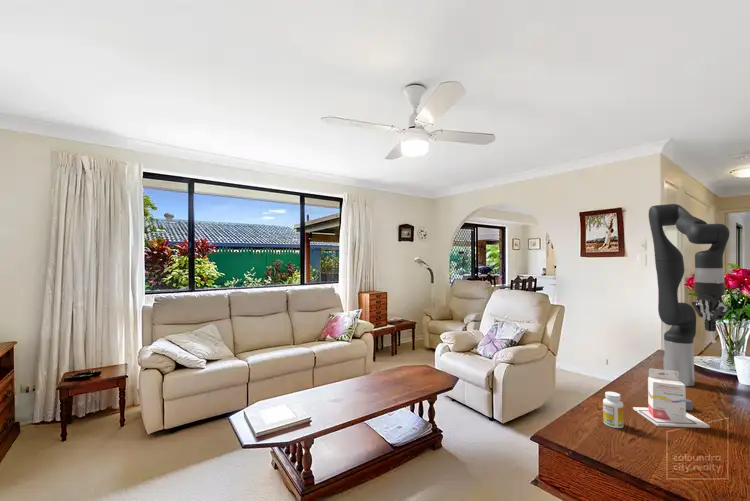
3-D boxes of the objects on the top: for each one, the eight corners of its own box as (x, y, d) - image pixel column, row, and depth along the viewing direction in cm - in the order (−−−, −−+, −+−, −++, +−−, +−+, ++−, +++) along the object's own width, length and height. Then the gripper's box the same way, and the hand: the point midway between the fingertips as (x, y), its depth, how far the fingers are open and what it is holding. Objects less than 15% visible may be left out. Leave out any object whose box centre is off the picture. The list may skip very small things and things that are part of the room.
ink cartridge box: (653, 418, 112) (652, 372, 112) (648, 411, 116) (647, 367, 117) (687, 422, 108) (685, 375, 109) (680, 415, 113) (679, 370, 113)
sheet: (633, 409, 120) (632, 406, 120) (679, 410, 119) (679, 407, 119) (657, 426, 108) (657, 423, 108) (709, 427, 107) (709, 424, 107)
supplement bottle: (620, 421, 111) (619, 391, 111) (626, 429, 106) (625, 398, 106) (601, 419, 113) (600, 389, 113) (606, 427, 108) (605, 395, 108)
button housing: (656, 401, 126) (656, 393, 126) (677, 401, 126) (676, 393, 126) (670, 409, 119) (670, 400, 119) (692, 410, 119) (692, 401, 119)
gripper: (682, 279, 127) (683, 327, 127) (713, 282, 114) (715, 335, 114) (704, 279, 126) (706, 327, 126) (738, 282, 113) (740, 335, 113)
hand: (710, 330), depth 120 cm, fingers closed
